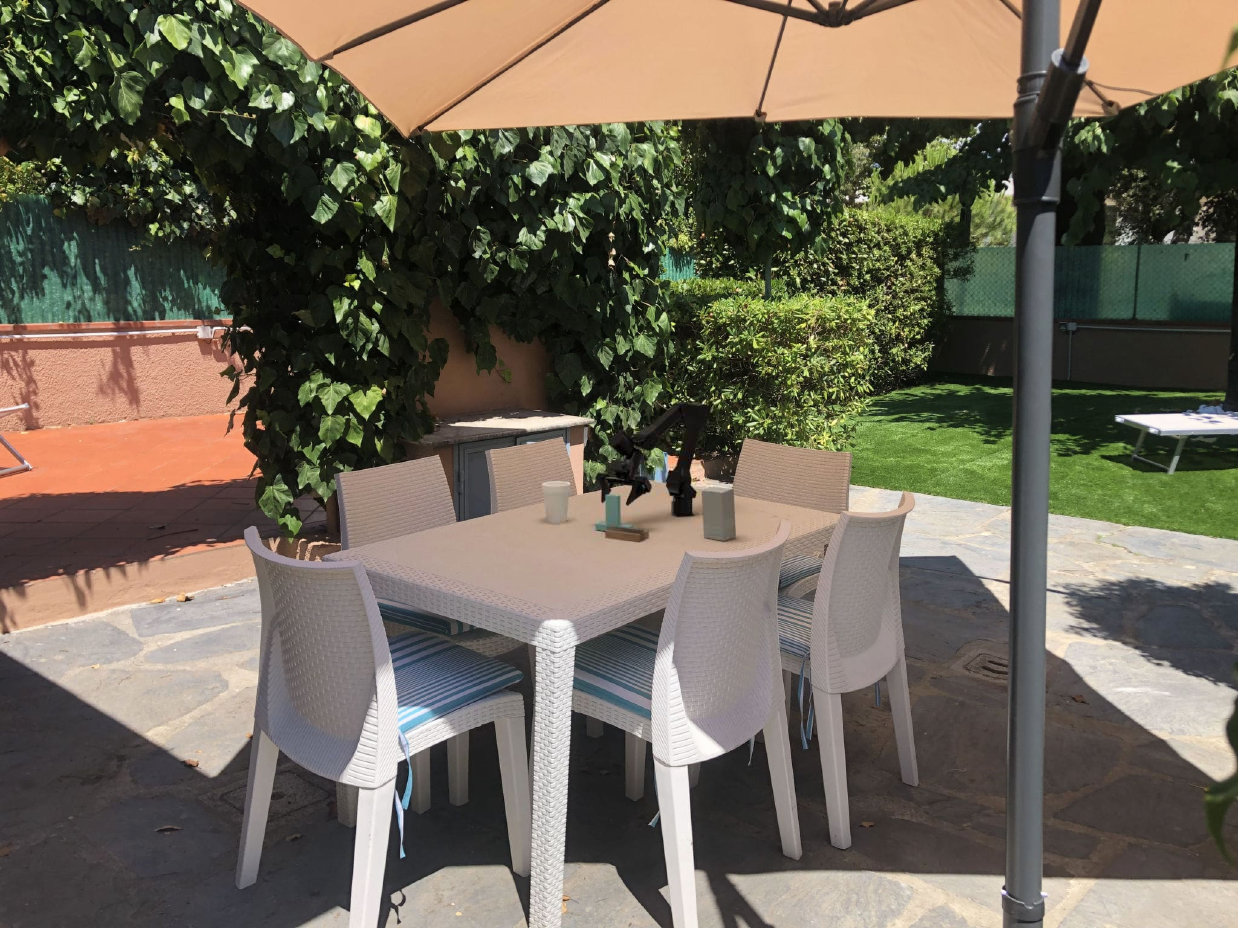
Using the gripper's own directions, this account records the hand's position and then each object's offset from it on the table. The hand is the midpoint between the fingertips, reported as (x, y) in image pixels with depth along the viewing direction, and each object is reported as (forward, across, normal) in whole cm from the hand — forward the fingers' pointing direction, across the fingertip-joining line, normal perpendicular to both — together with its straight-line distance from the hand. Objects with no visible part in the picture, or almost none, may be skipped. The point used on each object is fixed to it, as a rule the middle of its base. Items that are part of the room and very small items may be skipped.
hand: (614, 503), depth 317 cm
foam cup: (+4, -25, +9) cm, 26 cm away
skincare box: (+2, +33, +12) cm, 35 cm away
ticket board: (+10, +8, +2) cm, 13 cm away
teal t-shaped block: (+6, 0, +6) cm, 9 cm away
